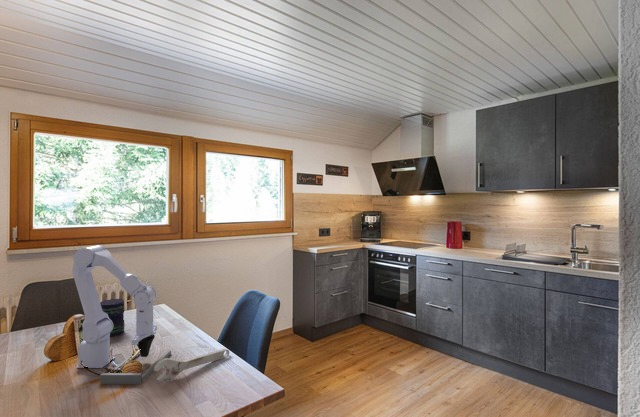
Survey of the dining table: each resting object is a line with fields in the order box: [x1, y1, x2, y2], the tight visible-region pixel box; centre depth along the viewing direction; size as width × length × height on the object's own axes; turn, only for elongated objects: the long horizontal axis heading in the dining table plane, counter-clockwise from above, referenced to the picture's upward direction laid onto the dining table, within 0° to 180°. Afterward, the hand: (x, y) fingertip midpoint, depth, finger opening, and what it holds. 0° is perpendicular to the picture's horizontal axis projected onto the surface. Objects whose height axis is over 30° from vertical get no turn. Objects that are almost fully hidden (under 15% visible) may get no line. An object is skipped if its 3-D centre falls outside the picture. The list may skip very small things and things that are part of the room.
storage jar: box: [100, 298, 125, 339], centre depth 154 cm, size 10×10×15 cm
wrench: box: [154, 348, 230, 383], centre depth 120 cm, size 8×2×30 cm
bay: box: [99, 349, 172, 385], centre depth 122 cm, size 13×23×3 cm, turn 0°
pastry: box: [120, 359, 144, 373], centre depth 117 cm, size 9×7×4 cm
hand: (144, 356), depth 126 cm, fingers closed
